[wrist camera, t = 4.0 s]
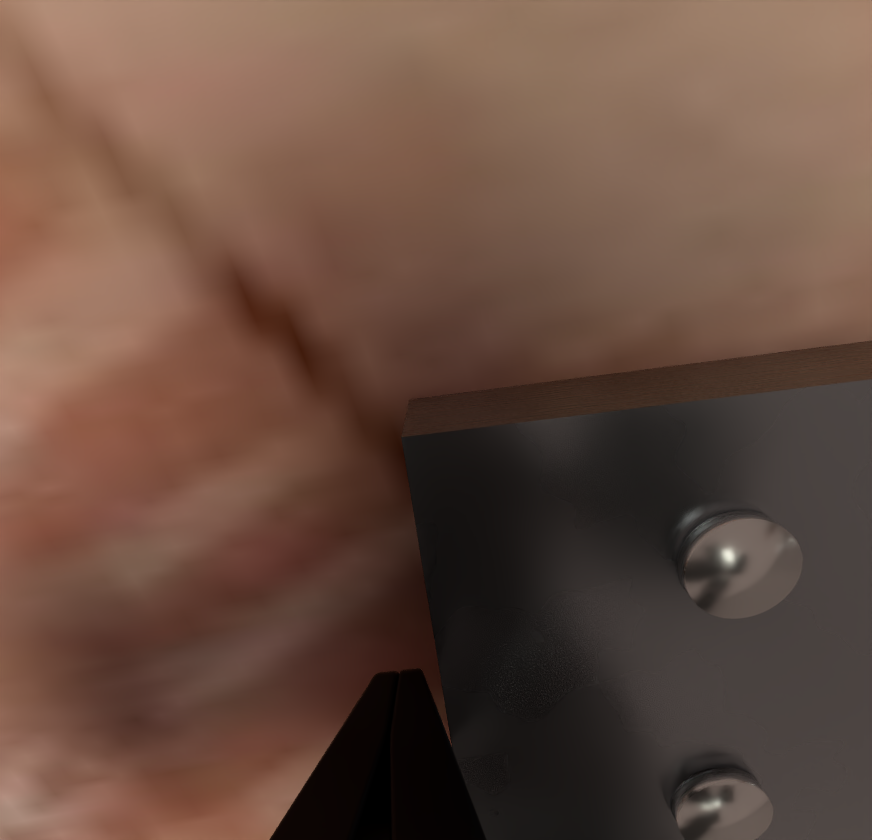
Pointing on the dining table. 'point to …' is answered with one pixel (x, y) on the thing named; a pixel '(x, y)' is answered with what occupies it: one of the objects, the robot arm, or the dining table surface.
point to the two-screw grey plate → (656, 597)
